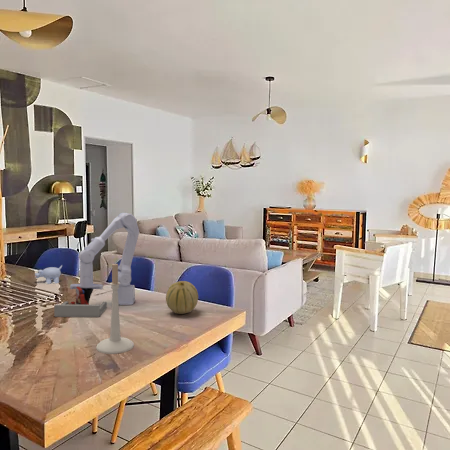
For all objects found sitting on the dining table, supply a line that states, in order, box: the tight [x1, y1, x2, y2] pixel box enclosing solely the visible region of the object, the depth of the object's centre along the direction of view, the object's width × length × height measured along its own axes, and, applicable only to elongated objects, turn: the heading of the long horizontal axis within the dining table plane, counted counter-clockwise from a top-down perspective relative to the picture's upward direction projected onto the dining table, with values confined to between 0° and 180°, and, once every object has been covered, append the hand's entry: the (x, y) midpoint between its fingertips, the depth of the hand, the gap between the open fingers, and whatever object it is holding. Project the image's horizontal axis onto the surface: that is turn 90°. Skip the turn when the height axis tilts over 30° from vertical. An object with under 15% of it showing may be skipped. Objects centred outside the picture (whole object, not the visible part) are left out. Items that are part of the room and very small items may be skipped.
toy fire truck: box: [69, 287, 90, 305], centre depth 185 cm, size 7×12×10 cm, turn 30°
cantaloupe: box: [165, 280, 199, 315], centre depth 185 cm, size 15×15×15 cm
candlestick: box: [96, 263, 135, 355], centre depth 144 cm, size 13×13×30 cm
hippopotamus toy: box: [34, 264, 63, 285], centre depth 241 cm, size 11×15×10 cm
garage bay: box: [53, 300, 108, 318], centre depth 184 cm, size 19×14×5 cm
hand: (86, 304), depth 192 cm, fingers closed
